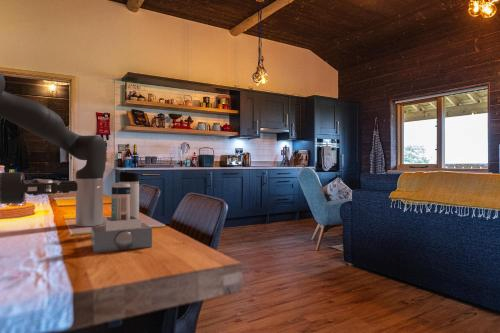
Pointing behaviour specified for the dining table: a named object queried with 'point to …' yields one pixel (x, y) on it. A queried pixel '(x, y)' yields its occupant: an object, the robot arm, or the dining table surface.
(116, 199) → the beer can
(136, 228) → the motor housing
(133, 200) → the travel mug
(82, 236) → the dining table surface
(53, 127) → the robot arm
